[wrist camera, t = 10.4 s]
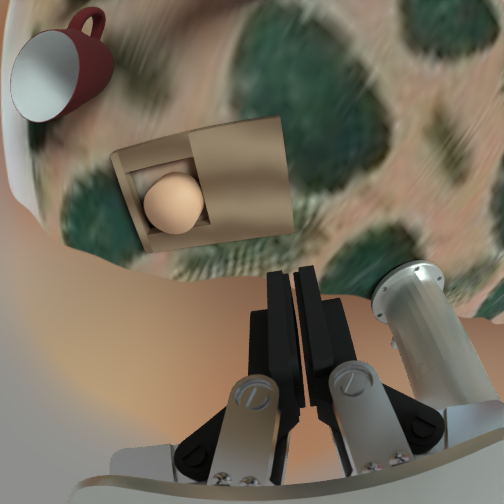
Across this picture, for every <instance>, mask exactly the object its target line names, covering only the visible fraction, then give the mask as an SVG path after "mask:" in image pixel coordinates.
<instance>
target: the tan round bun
mask: <svg viewBox="0 0 504 504" xmlns="http://www.w3.org/2000/svg"><path fill="white" fill-rule="evenodd" d="M204 206H205V200H204V196H203V192H202V188H201V185H200V184H199V182H198V181H197V180H196V179H194V178H193V177H192V176H190V175H188V174H185V173H182V172H171V173H168V174H166V175H164V176H163V177H162V178H160V179H159V180H158V181H157V182H156V183H155V185H154V186H153V187H152V188H151V189H150V190H149V191H148V192H147V194H146V196H145V199H144V209H145V213H146V215H147V217H148V219H149V220H150V222H151V223H152V224H153V225H154V226H155V227H156V228H158V229H159V230H161V231H163V232H166V233H169V234H182V233H185V232H187V231H189V230H190V229H191V228H192V227H193V226H194V224H195V223H196V221H197V219H198V217H199V215H200V214H201V212H202V210H203V208H204Z"/></svg>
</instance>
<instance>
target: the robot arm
mask: <svg viewBox="0 0 504 504" xmlns="http://www.w3.org/2000/svg"><path fill="white" fill-rule="evenodd" d="M293 275H294V282H295V290H296V296H297V304H298V312H299V320H300V328H301V336H302V344H303V353H304V361H305V369H306V376H307V384H308V391H309V398H310V406H317V413H318V419H319V420H321V421H322V422H324V423H325V424H327V425H329V429H330V432H331V435H332V439H333V442H334V445H335V449H336V452H337V455H338V459H339V462H340V466H341V469H342V472H343V476H344V478H340V479H333V480H327V481H320V482H312V483H303V484H292V485H284V479H285V472H286V466H287V459H288V451H289V444H290V436H291V429H292V428H293V427H294V426H295V425H296V424H297V423H298V422H299V416H300V408H304V407H305V396H304V385H303V375H302V366H301V355H300V346H299V336H298V328H297V322H296V315H295V309H294V304H293V297H292V291H291V285H290V280H289V274H288V273H287V274H283V273H282V270H281V271H274V272H268V273H267V303H268V309H266V310H259V311H252V312H251V315H250V339H249V363H248V365H249V366H248V376H247V377H244V378H242V379H241V380H239V381H238V382H237V383H236V384H235V385H234V386H233V388H232V390H231V392H230V396H229V400H228V404H227V406H226V407H225V408H224V409H222V410H221V411H220V412H219V413H217V414H216V415H215V416H214V417H213V418H211V419H210V420H209V421H208V422H206V423H205V424H204V425H203V426H201V427H200V428H199V429H198V430H197V431H195V432H194V433H193V434H191V435H190V436H189V437H187V438H186V439H185V440H184V441H183V442H181V444H178V445H171V444H164V445H157V446H148V447H138V448H127V449H121V450H118V451H117V452H115V453H114V454H113V456H112V457H111V460H110V475H103V476H96V477H91V478H87V479H85V480H82V481H80V482H78V483H77V484H76V485H75V486H74V487H73V488H72V490H71V492H70V494H69V496H68V498H67V501H66V504H504V403H503V402H502V401H501V400H500V398H499V396H498V394H497V392H496V391H495V389H494V387H493V385H492V383H491V381H490V379H489V377H488V375H487V373H486V371H485V369H484V367H483V365H482V363H481V361H480V359H479V357H478V355H477V352H476V351H475V349H474V347H473V345H472V343H471V341H470V339H469V337H468V335H467V333H466V331H465V329H464V328H463V326H462V324H461V322H460V320H459V319H458V317H457V315H456V313H455V312H454V310H453V308H452V306H451V305H450V303H449V301H448V300H447V298H446V296H445V295H444V293H443V287H444V276H443V273H442V272H441V270H440V269H439V267H438V266H437V265H436V264H434V263H433V262H430V261H427V260H417V261H412V262H408V263H405V264H403V265H401V266H399V267H397V268H396V269H394V270H392V271H391V272H390V273H389V274H387V275H386V276H385V277H384V278H383V279H382V280H381V281H380V283H379V284H378V286H377V287H376V289H375V291H374V293H373V295H372V299H371V308H372V311H373V313H374V316H375V317H376V318H377V319H378V320H379V321H380V322H382V323H385V324H389V327H390V329H391V332H392V334H393V338H392V342H391V346H392V347H393V348H395V349H398V350H399V353H400V356H401V359H402V362H403V364H404V367H405V370H406V373H407V376H408V379H409V382H410V385H411V388H412V391H413V394H414V397H415V399H413V398H411V397H408V396H407V395H405V394H403V393H401V392H399V391H397V390H395V389H393V388H391V387H389V386H387V385H385V384H383V383H381V381H380V379H379V376H378V374H377V373H376V371H375V370H374V368H373V367H372V366H370V365H369V364H368V363H365V362H362V361H357V358H356V354H355V350H354V346H353V342H352V339H351V335H350V331H349V327H348V324H347V320H346V316H345V313H344V310H343V306H342V303H341V300H340V298H335V299H330V300H324V301H322V300H321V296H320V292H319V287H318V283H317V278H316V274H315V270H314V266H313V265H311V266H305V267H299V272H294V273H293Z"/></svg>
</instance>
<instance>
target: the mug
mask: <svg viewBox="0 0 504 504" xmlns="http://www.w3.org/2000/svg"><path fill="white" fill-rule="evenodd" d="M91 16H92V18H93V27H92V32H91V36H88V35H86V34H84V33H83V32H82V31H81V30H82V27H83V25H84V23H85V22H86V20H87V19H88V18H89V17H91ZM105 21H106V18H105V14H104V12H103V10H101V9H100V8H97V7H87V8H84V9H82V10H80V11H79V12H78V13H77V14H76V15H75V16H74V17H73V18H72V20H71V21H70V23H69V26H68V28H67V29H63V30H59V29H54V30H47V31H43V32H41V33H39V34H37V35H35V36H34V37H33V38H31V39H30V40H29V41H28V42H27V43H26V44H25V45H24V47H23V48H22V49H21V51H20V52H19V54H18V56H17V58H16V60H15V63H14V65H13V69H12V73H11V80H10V90H11V96H12V100H13V103H14V105H15V107H16V109H17V111H18V112H19V113H20V114H21V115H22V116H23V117H24V118H25V119H27V120H29V121H31V122H35V123H43V122H47V121H50V120H53V119H56V118H59V117H61V116H64V115H66V114H68V113H70V112H72V111H74V110H75V109H77V108H78V107H80V106H81V105H83V104H84V103H86V102H87V101H89V100H90V99H92V98H93V97H95V96H96V95H98V94H99V93H100V92H101V91H102V90H103V89H104V88H105V87H106V85H107V84H108V82H109V80H110V78H111V76H112V73H113V68H114V62H113V57H112V54H111V52H110V50H109V49H108V48H107V47H106V46H105V45H104V44H103V43H102V42H101V41H100V38H101V35H102V33H103V30H104V26H105Z"/></svg>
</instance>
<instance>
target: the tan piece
mask: <svg viewBox="0 0 504 504" xmlns="http://www.w3.org/2000/svg"><path fill="white" fill-rule="evenodd" d="M110 157H111V160H112V163H113V166H114V169H115V172H116V175H117V178H118V181H119V184H120V187H121V190H122V192H123V195H124V198H125V201H126V203H127V206H128V209H129V211H130V214H131V217H132V219H133V222H134V225H135V227H136V230H137V232H138V235H139V237H140V240H141V242H142V245H143V247H144V249H145V252H146V253H153V252H160V251H167V250H174V249H180V248H187V247H194V246H201V245H208V244H216V243H223V242H230V241H237V240H244V239H252V238H259V237H267V236H274V235H282V234H289V233H295V232H294V223H293V213H292V204H291V196H290V187H289V179H288V171H287V163H286V155H285V148H284V141H283V133H282V126H281V120H280V116H279V115H275V116H267V117H260V118H254V119H247V120H241V121H235V122H229V123H224V124H219V125H214V126H209V127H204V128H199V129H194V130H190V131H185V132H181V133H177V134H173V135H169V136H165V137H161V138H157V139H153V140H150V141H146V142H142V143H139V144H135V145H132V146H129V147H125V148H122V149H119V150H116V151H114V152H113V153H111V154H110ZM189 157H194V161H195V165H196V169H197V173H198V177H199V181H200V185H201V188H202V192H203V196H204V200H205V204H206V208H207V211H208V215H209V219H205V220H199V221H196V223H195V224H194V226H193V227H192V228H191V229H190V230H189V231H187V232H185V233H182V234H169V233H166V232H163V231H161V230H159V229H158V228H152V229H150V227H149V224H148V222H147V219H146V216H145V214H144V211H143V208H142V205H141V202H140V199H139V197H138V194H137V191H136V188H135V185H134V182H133V179H132V176H131V173H130V171H134V170H138V169H142V168H146V167H150V166H154V165H158V164H162V163H166V162H171V161H175V160H180V159H184V158H189Z"/></svg>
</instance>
